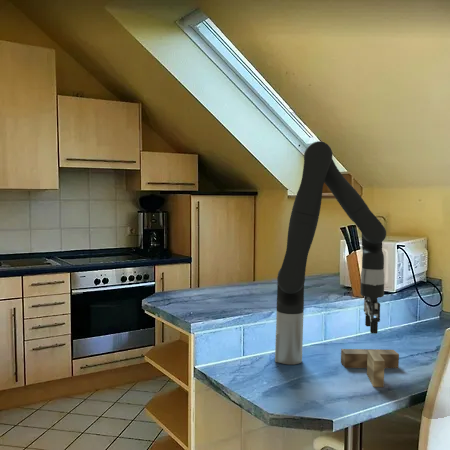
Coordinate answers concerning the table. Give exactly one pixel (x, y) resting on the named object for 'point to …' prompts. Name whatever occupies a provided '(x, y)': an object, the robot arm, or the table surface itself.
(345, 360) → the batten
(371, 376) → the fulcrum
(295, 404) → the table surface
